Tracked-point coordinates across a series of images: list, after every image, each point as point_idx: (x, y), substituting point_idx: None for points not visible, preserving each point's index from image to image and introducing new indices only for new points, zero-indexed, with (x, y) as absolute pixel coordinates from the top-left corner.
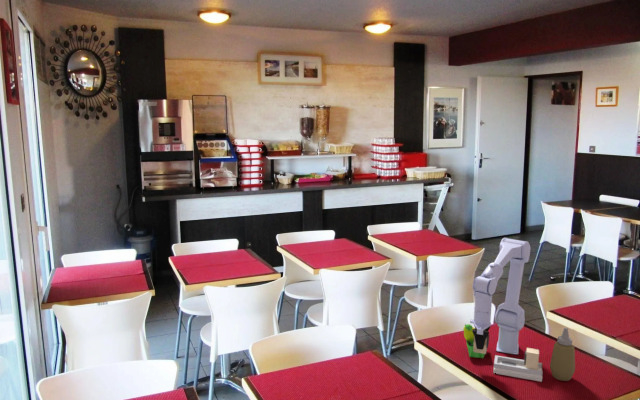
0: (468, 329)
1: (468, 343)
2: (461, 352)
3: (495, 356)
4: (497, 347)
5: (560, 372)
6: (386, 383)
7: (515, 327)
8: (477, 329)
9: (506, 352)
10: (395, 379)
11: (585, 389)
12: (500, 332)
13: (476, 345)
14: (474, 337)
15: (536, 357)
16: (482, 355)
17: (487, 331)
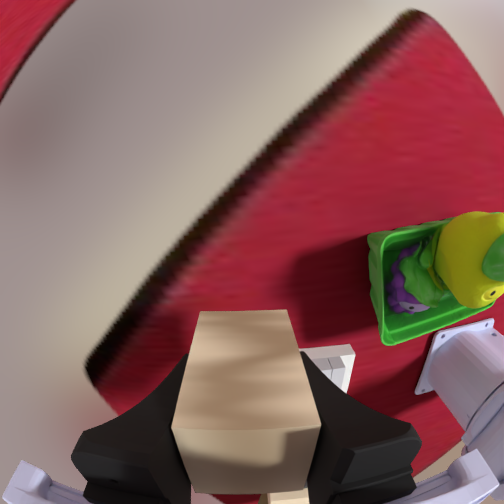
0: (488, 257)
1: (417, 239)
2: (401, 190)
3: (331, 371)
4: (457, 331)
5: (259, 500)
6: (7, 18)
7: (468, 450)
8: (4, 494)
9: (425, 364)
10: (28, 19)
11: (242, 500)
12: (487, 377)
13: (175, 367)
14: (179, 395)
15: (268, 501)
16: (372, 299)
17: (291, 490)
